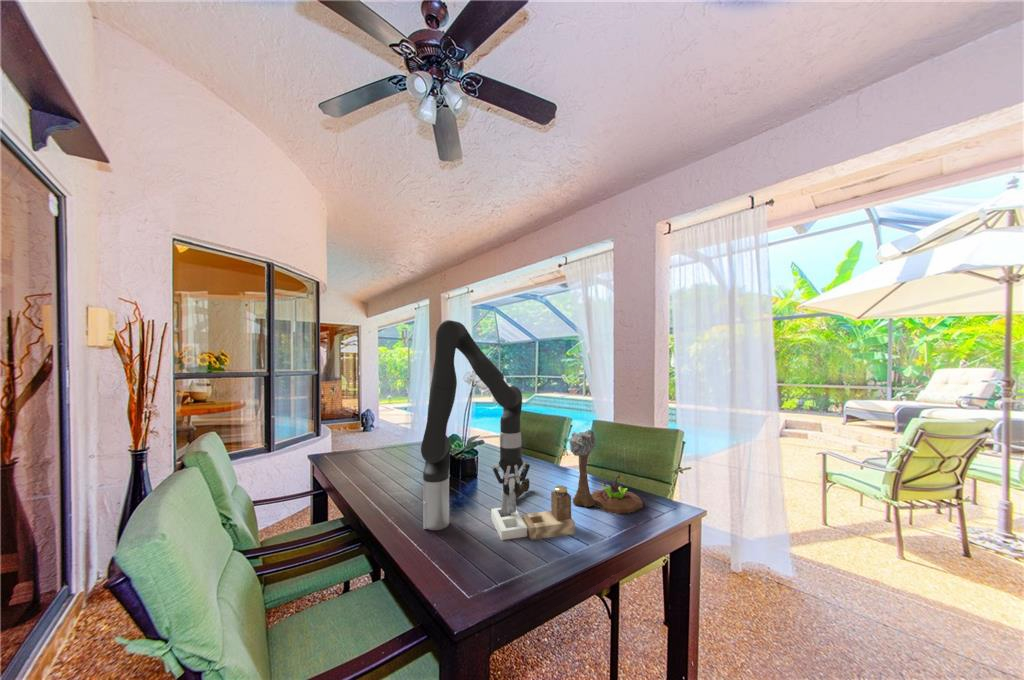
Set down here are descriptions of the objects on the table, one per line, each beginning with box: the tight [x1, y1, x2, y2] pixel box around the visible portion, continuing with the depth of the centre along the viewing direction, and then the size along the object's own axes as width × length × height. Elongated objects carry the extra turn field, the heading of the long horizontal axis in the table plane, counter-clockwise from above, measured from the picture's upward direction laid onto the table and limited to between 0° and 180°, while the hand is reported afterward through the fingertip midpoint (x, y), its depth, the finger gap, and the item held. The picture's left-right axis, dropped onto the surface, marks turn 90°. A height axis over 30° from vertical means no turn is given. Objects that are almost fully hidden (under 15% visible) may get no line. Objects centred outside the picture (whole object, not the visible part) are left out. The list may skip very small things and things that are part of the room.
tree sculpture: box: [568, 429, 597, 508], centre depth 151 cm, size 15×10×30 cm
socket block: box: [521, 490, 576, 541], centre depth 129 cm, size 16×10×13 cm, turn 105°
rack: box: [490, 488, 528, 541], centre depth 131 cm, size 9×17×12 cm, turn 15°
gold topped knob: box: [554, 485, 568, 496], centre depth 130 cm, size 4×4×7 cm
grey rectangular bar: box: [507, 474, 517, 513], centre depth 127 cm, size 3×3×12 cm
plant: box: [590, 475, 644, 515], centre depth 152 cm, size 20×20×11 cm
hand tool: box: [516, 477, 530, 501], centre depth 159 cm, size 19×4×5 cm, turn 152°
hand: (511, 493), depth 127 cm, fingers closed on grey rectangular bar, 3 cm apart
